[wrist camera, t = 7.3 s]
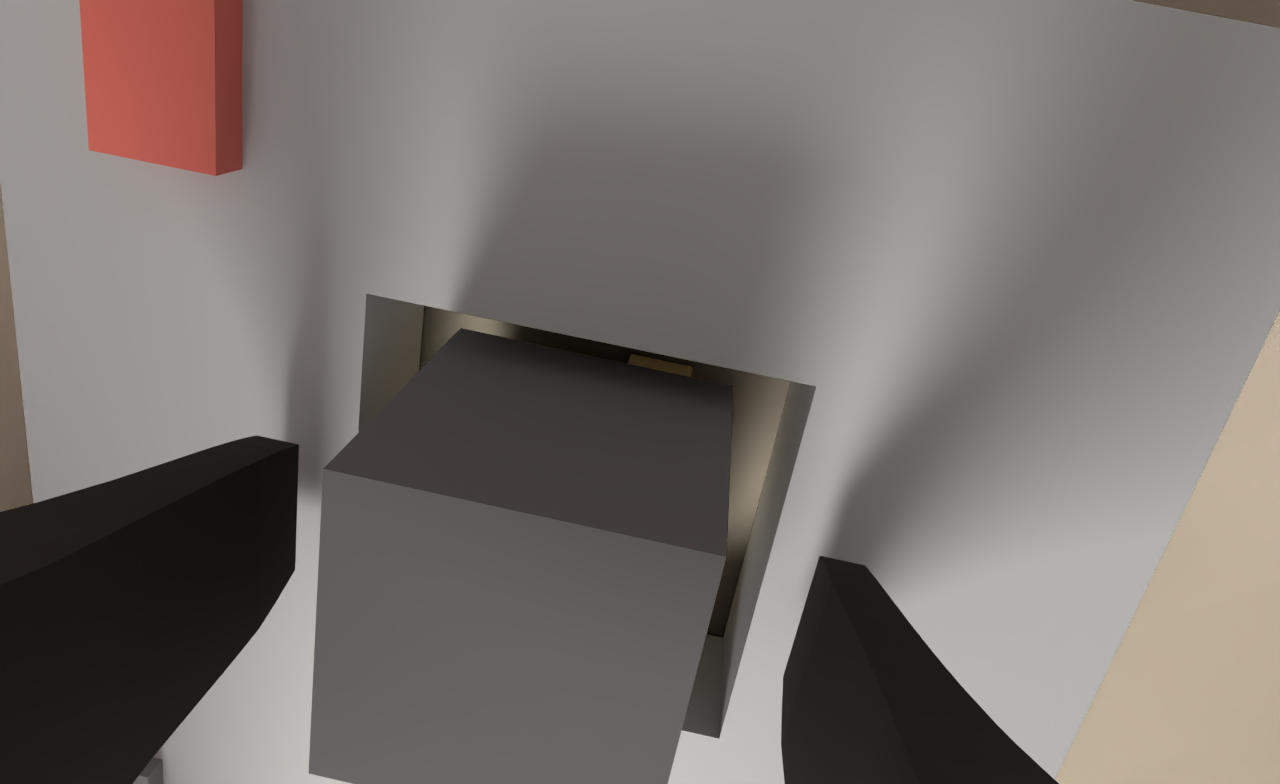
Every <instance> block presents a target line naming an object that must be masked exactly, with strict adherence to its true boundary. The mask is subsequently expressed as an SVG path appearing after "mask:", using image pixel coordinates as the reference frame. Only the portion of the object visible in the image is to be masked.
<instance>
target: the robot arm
mask: <svg viewBox="0 0 1280 784" xmlns="http://www.w3.org/2000/svg"><path fill="white" fill-rule="evenodd" d="M298 462H299V444H295V443H290V442H285V441H281V440H276V439H271V438H266V437H262V436H257V435H256V436H251V437H246V438H242V439H238V440H234V441H231V442H228V443H224V444H221V445H218V446H214V447H211V448H208V449H205V450H202V451H199V452H196V453H193V454H190V455H187V456H184V457H181V458H178V459H175V460H172V461H169V462H166V463H163V464H160V465H157V466H154V467H151V468H148V469H145V470H142V471H139V472H136V473H133V474H130V475H127V476H124V477H121V478H118V479H114V480H111V481H108V482H105V483H101V484H98V485H94V486H91V487H88V488H84V489H81V490H78V491H74V492H71V493H67V494H64V495H61V496H57V497H54V498H50V499H47V500H44V501H40V502H37V503H34V504H30V505H26V506H22V507H19V508H15V509H11V510H7V511H3V512H0V784H133V783H134V781H135V780H136V779H137V777H138V776H139V775H140V773H141V772H142V771H143V770H144V768H145V767H146V766H147V764H148V763H149V762H150V760H151V759H152V758H153V757H154V755H155V754H156V753H157V752H158V751H159V749H160V748H161V747H162V746H163V745H164V743H165V742H166V741H167V740H168V739H169V737H170V736H171V735H172V734H173V733H174V731H175V730H176V729H177V728H178V727H179V725H180V724H181V723H182V722H183V721H184V719H185V718H186V717H187V716H188V715H189V713H190V712H191V711H192V710H193V709H194V707H195V706H196V705H197V704H198V703H199V701H200V700H201V699H202V698H203V697H204V696H205V694H206V693H207V692H208V691H209V690H210V688H211V687H212V686H213V685H214V684H215V682H216V681H217V680H218V679H219V678H220V676H221V675H222V674H223V673H224V671H225V670H226V669H227V668H228V667H229V665H230V664H231V663H232V662H233V660H234V659H235V658H236V657H237V656H238V654H239V653H240V652H241V651H242V649H243V648H244V647H245V646H246V645H247V643H248V642H249V641H250V640H251V638H252V637H253V636H254V635H255V633H256V632H257V631H258V629H259V628H260V627H261V625H262V623H263V622H264V620H265V619H266V617H267V616H268V614H269V612H270V611H271V609H272V608H273V606H274V605H275V603H276V601H277V600H278V598H279V596H280V595H281V593H282V591H283V590H284V588H285V586H286V584H287V583H288V581H289V579H290V578H291V576H292V574H293V573H294V571H295V561H296V528H297V495H298ZM781 749H782V761H783V771H784V782H785V784H1059V783H1058V782H1056V781H1055V780H1054V779H1053V778H1052V777H1051V776H1050V775H1049V774H1048V773H1047V772H1046V771H1045V770H1044V769H1043V768H1041V767H1040V766H1039V765H1038V764H1037V763H1036V762H1035V761H1034V760H1033V759H1032V758H1031V757H1030V756H1029V755H1028V754H1027V753H1025V752H1024V751H1023V750H1022V749H1021V748H1020V747H1019V746H1018V745H1017V744H1016V743H1015V742H1014V741H1013V740H1012V739H1011V738H1010V737H1009V736H1008V735H1007V734H1006V733H1005V732H1004V731H1003V730H1002V729H1001V728H1000V727H999V726H998V725H997V724H996V723H995V722H994V721H993V720H992V719H991V718H990V717H989V715H988V714H987V713H986V712H985V711H984V710H983V709H982V708H981V707H980V706H979V705H978V703H977V702H976V701H975V700H974V699H973V698H972V697H971V696H970V695H969V694H968V693H967V691H966V690H965V689H964V688H963V687H962V686H961V685H960V684H959V682H958V681H957V680H956V679H955V678H954V677H953V675H952V674H951V673H950V672H949V671H948V670H947V668H946V667H945V666H944V665H943V664H942V662H941V661H940V660H939V659H938V658H937V656H936V655H935V654H934V653H933V652H932V650H931V649H930V648H929V647H928V645H927V644H926V643H925V642H924V640H923V639H922V638H921V637H920V635H919V634H918V633H917V631H916V630H915V629H914V628H913V626H912V625H911V624H910V623H909V621H908V620H907V619H906V617H905V616H904V615H903V613H902V612H901V611H900V609H899V608H898V607H897V606H896V604H895V603H894V602H893V600H892V599H891V598H890V596H889V595H888V594H887V592H886V591H885V590H884V588H883V587H882V586H881V585H880V583H879V582H878V581H877V579H876V578H875V577H874V576H873V574H872V573H871V572H870V571H869V569H868V568H867V567H866V566H865V565H861V564H857V563H852V562H847V561H843V560H838V559H833V558H829V557H824V556H819V559H818V563H817V566H816V569H815V572H814V576H813V579H812V582H811V586H810V589H809V592H808V596H807V599H806V602H805V606H804V609H803V612H802V616H801V619H800V622H799V626H798V629H797V632H796V635H795V639H794V642H793V645H792V649H791V652H790V655H789V659H788V662H787V665H786V669H785V672H784V675H783V693H782V723H781Z"/></svg>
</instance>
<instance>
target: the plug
mask: <svg viewBox="0 0 1280 784" xmlns="http://www.w3.org/2000/svg"><path fill="white" fill-rule="evenodd" d="M691 373H692V367H690V366H686V365H681V364H676V363H671V362H667V361H662V360H657V359H653V358H648V357H643V356H638V355H634V354H631V356H630V359H629V362H628V364H627V363H622V362H617V361H613V360H608V359H603V358H598V357H594V356H589V355H584V354H579V353H575V352H570V351H565V350H561V349H556V348H551V347H546V346H542V345H537V344H532V343H527V342H523V341H518V340H513V339H509V338H504V337H499V336H494V335H490V334H485V333H480V332H476V331H471V330H466V329H460V330H459V331H458V332H457V333H456V334H455V335H454V336H453V337H452V338H451V339H450V340H449V341H448V342H447V343H446V344H445V345H444V346H443V347H442V348H441V349H440V350H439V351H438V352H437V353H436V354H435V355H434V356H433V357H432V358H431V359H430V360H429V361H428V362H427V363H426V364H425V365H424V366H423V367H422V368H421V369H420V370H419V371H418V373H417V374H416V375H415V376H414V377H413V378H412V379H411V380H410V381H409V382H408V383H407V384H406V385H405V386H404V387H403V388H402V389H401V390H400V391H399V392H398V393H397V394H396V395H395V396H394V397H393V398H392V399H391V400H390V401H389V402H388V403H387V404H386V405H385V406H384V407H383V408H382V409H381V410H380V411H379V412H378V413H377V414H376V415H375V416H374V417H373V418H372V419H371V420H370V421H369V422H368V423H367V424H366V426H365V427H364V428H363V429H362V430H361V431H360V432H359V433H358V434H357V435H356V436H355V437H354V438H353V439H352V440H351V441H350V442H349V443H348V444H347V445H346V446H345V447H344V448H343V449H342V450H341V451H340V452H339V453H338V454H337V455H336V456H335V457H334V458H333V459H332V460H331V461H330V462H329V463H328V464H327V465H326V466H325V467H324V468H323V480H322V501H321V522H320V543H319V563H318V584H317V605H316V626H315V647H314V668H313V689H312V710H311V731H310V752H309V774H313V775H317V776H322V777H326V778H330V779H335V780H339V781H343V782H348V783H352V784H668V781H669V777H670V773H671V769H672V765H673V762H674V758H675V754H676V750H677V746H678V742H679V738H680V735H681V731H682V727H683V723H684V719H685V715H686V711H687V708H688V704H689V700H690V696H691V692H692V688H693V684H694V681H695V677H696V673H697V669H698V665H699V661H700V657H701V654H702V650H703V646H704V642H705V638H706V634H707V630H708V627H709V623H710V619H711V615H712V611H713V607H714V603H715V600H716V596H717V592H718V588H719V584H720V580H721V576H722V573H723V569H724V565H725V561H726V557H727V533H728V508H729V483H730V458H731V433H732V408H733V386H731V385H726V384H721V383H716V382H712V381H707V380H702V379H698V378H693V377H691Z"/></svg>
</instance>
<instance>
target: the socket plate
mask: <svg viewBox="0 0 1280 784" xmlns="http://www.w3.org/2000/svg"><path fill="white" fill-rule="evenodd" d="M0 184H1V194H2V203H3V213H4V223H5V233H6V242H7V252H8V262H9V272H10V281H11V291H12V301H13V311H14V320H15V330H16V340H17V350H18V359H19V369H20V379H21V389H22V398H23V408H24V418H25V427H26V437H27V447H28V457H29V466H30V476H31V486H32V496H33V504H34V503H37V502H40V501H44V500H47V499H50V498H54V497H57V496H61V495H64V494H67V493H71V492H74V491H78V490H81V489H84V488H88V487H91V486H94V485H98V484H101V483H105V482H108V481H111V480H114V479H118V478H121V477H124V476H127V475H130V474H133V473H136V472H139V471H142V470H145V469H148V468H151V467H154V466H157V465H160V464H163V463H166V462H169V461H172V460H175V459H178V458H181V457H184V456H187V455H190V454H193V453H196V452H199V451H202V450H205V449H208V448H211V447H214V446H218V445H221V444H224V443H228V442H231V441H234V440H238V439H242V438H246V437H251V436H256V435H257V436H262V437H266V438H271V439H276V440H281V441H285V442H290V443H295V444H299V462H298V495H297V528H296V561H295V571H294V573H293V574H292V576H291V578H290V579H289V581H288V583H287V584H286V586H285V588H284V590H283V591H282V593H281V595H280V596H279V598H278V600H277V601H276V603H275V605H274V606H273V608H272V609H271V611H270V612H269V614H268V616H267V617H266V619H265V620H264V622H263V623H262V625H261V627H260V628H259V629H258V631H257V632H256V633H255V635H254V636H253V637H252V638H251V640H250V641H249V642H248V643H247V645H246V646H245V647H244V648H243V649H242V651H241V652H240V653H239V654H238V656H237V657H236V658H235V659H234V660H233V662H232V663H231V664H230V665H229V667H228V668H227V669H226V670H225V671H224V673H223V674H222V675H221V676H220V678H219V679H218V680H217V681H216V682H215V684H214V685H213V686H212V687H211V688H210V690H209V691H208V692H207V693H206V694H205V696H204V697H203V698H202V699H201V700H200V701H199V703H198V704H197V705H196V706H195V707H194V709H193V710H192V711H191V712H190V713H189V715H188V716H187V717H186V718H185V719H184V721H183V722H182V723H181V724H180V725H179V727H178V728H177V729H176V730H175V731H174V733H173V734H172V735H171V736H170V737H169V739H168V740H167V741H166V742H165V743H164V745H163V746H162V747H161V748H160V749H159V751H158V752H157V753H156V754H155V755H154V757H153V758H152V759H151V760H150V762H149V763H148V764H147V766H146V767H145V768H144V770H143V771H142V772H141V773H140V775H139V776H138V777H137V779H136V780H135V781H134V783H133V784H352V783H348V782H343V781H339V780H335V779H330V778H326V777H322V776H317V775H313V774H309V752H310V731H311V710H312V689H313V668H314V647H315V626H316V605H317V584H318V563H319V543H320V522H321V501H322V480H323V468H324V467H325V466H326V465H327V464H328V463H329V462H330V461H331V460H332V459H333V458H334V457H335V456H336V455H337V454H338V453H339V452H340V451H341V450H342V449H343V448H344V447H345V446H346V445H347V444H348V443H349V442H350V441H351V440H352V439H353V438H354V437H355V436H356V435H357V434H358V433H359V432H360V431H361V430H362V429H363V428H364V427H365V426H366V424H367V423H368V422H369V421H370V420H371V419H372V418H373V417H374V416H375V415H376V414H377V413H378V412H379V411H380V410H381V409H382V408H383V407H384V406H385V405H386V404H387V403H388V402H389V401H390V400H391V399H392V398H393V397H394V396H395V395H396V394H397V393H398V392H399V391H400V390H401V389H402V388H403V387H404V386H405V385H406V384H407V383H408V382H409V381H410V380H411V379H412V378H413V377H414V376H415V375H416V374H417V373H418V371H419V364H420V353H421V341H422V329H423V318H424V306H429V307H434V308H439V309H444V310H448V311H453V312H458V313H463V314H468V315H473V316H477V317H482V318H487V319H492V320H497V321H502V322H506V323H511V324H516V325H521V326H526V327H531V328H536V329H540V330H545V331H550V332H555V333H560V334H565V335H569V336H574V337H579V338H584V339H589V340H594V341H598V342H603V343H608V344H613V345H618V346H623V347H628V348H632V349H637V350H642V351H647V352H652V353H657V354H661V355H666V356H671V357H676V358H681V359H686V360H690V361H695V362H700V363H705V364H710V365H715V366H720V367H724V368H729V369H734V370H739V371H744V372H749V373H753V374H758V375H763V376H768V377H773V378H778V379H783V380H787V381H791V382H790V386H789V390H788V394H787V398H786V401H785V405H784V409H783V413H782V417H781V420H780V424H779V428H778V432H777V436H776V439H775V443H774V447H773V451H772V455H771V458H770V462H769V466H768V470H767V474H766V477H765V481H764V485H763V489H762V493H761V496H760V500H759V504H758V508H757V512H756V515H755V519H754V523H753V527H752V531H751V534H750V538H749V542H748V546H747V550H746V553H745V557H744V561H743V565H742V569H741V572H740V576H739V580H738V584H737V588H736V591H735V595H734V599H733V603H732V607H731V610H730V614H729V618H728V622H727V626H726V629H725V633H724V637H723V638H722V637H718V636H713V635H708V634H706V638H705V642H704V646H703V650H702V654H701V657H700V661H699V665H698V669H697V673H696V677H695V681H694V684H693V688H692V692H691V696H690V700H689V704H688V708H687V711H686V715H685V719H684V723H683V727H682V731H681V735H680V738H679V742H678V746H677V750H676V754H675V758H674V762H673V765H672V769H671V773H670V777H669V781H668V784H785V782H784V771H783V761H782V749H781V723H782V693H783V675H784V672H785V669H786V665H787V662H788V659H789V655H790V652H791V649H792V645H793V642H794V639H795V635H796V632H797V629H798V626H799V622H800V619H801V616H802V612H803V609H804V606H805V602H806V599H807V596H808V592H809V589H810V586H811V582H812V579H813V576H814V572H815V569H816V566H817V563H818V559H819V556H824V557H829V558H833V559H838V560H843V561H847V562H852V563H857V564H861V565H865V566H866V567H867V568H868V569H869V571H870V572H871V573H872V574H873V576H874V577H875V578H876V579H877V581H878V582H879V583H880V585H881V586H882V587H883V588H884V590H885V591H886V592H887V594H888V595H889V596H890V598H891V599H892V600H893V602H894V603H895V604H896V606H897V607H898V608H899V609H900V611H901V612H902V613H903V615H904V616H905V617H906V619H907V620H908V621H909V623H910V624H911V625H912V626H913V628H914V629H915V630H916V631H917V633H918V634H919V635H920V637H921V638H922V639H923V640H924V642H925V643H926V644H927V645H928V647H929V648H930V649H931V650H932V652H933V653H934V654H935V655H936V656H937V658H938V659H939V660H940V661H941V662H942V664H943V665H944V666H945V667H946V668H947V670H948V671H949V672H950V673H951V674H952V675H953V677H954V678H955V679H956V680H957V681H958V682H959V684H960V685H961V686H962V687H963V688H964V689H965V690H966V691H967V693H968V694H969V695H970V696H971V697H972V698H973V699H974V700H975V701H976V702H977V703H978V705H979V706H980V707H981V708H982V709H983V710H984V711H985V712H986V713H987V714H988V715H989V717H990V718H991V719H992V720H993V721H994V722H995V723H996V724H997V725H998V726H999V727H1000V728H1001V729H1002V730H1003V731H1004V732H1005V733H1006V734H1007V735H1008V736H1009V737H1010V738H1011V739H1012V740H1013V741H1014V742H1015V743H1016V744H1017V745H1018V746H1019V747H1020V748H1021V749H1022V750H1023V751H1024V752H1025V753H1027V754H1028V755H1029V756H1030V757H1031V758H1032V759H1033V760H1034V761H1035V762H1036V763H1037V764H1038V765H1039V766H1040V767H1041V768H1043V769H1044V770H1045V771H1046V772H1047V773H1048V774H1049V775H1050V776H1051V777H1052V778H1053V779H1054V780H1055V779H1056V776H1057V774H1058V772H1059V770H1060V768H1061V766H1062V764H1063V762H1064V760H1065V758H1066V756H1067V754H1068V751H1069V749H1070V747H1071V745H1072V743H1073V741H1074V739H1075V737H1076V735H1077V733H1078V731H1079V728H1080V726H1081V724H1082V722H1083V720H1084V718H1085V716H1086V714H1087V712H1088V710H1089V708H1090V706H1091V703H1092V701H1093V699H1094V697H1095V695H1096V693H1097V691H1098V689H1099V687H1100V685H1101V683H1102V680H1103V678H1104V676H1105V674H1106V672H1107V670H1108V668H1109V666H1110V664H1111V662H1112V660H1113V657H1114V655H1115V653H1116V651H1117V649H1118V647H1119V645H1120V643H1121V641H1122V639H1123V637H1124V635H1125V632H1126V630H1127V628H1128V626H1129V624H1130V622H1131V620H1132V618H1133V616H1134V614H1135V612H1136V609H1137V607H1138V605H1139V603H1140V601H1141V599H1142V597H1143V595H1144V593H1145V591H1146V589H1147V587H1148V584H1149V582H1150V580H1151V578H1152V576H1153V574H1154V572H1155V570H1156V568H1157V566H1158V564H1159V561H1160V559H1161V557H1162V555H1163V553H1164V551H1165V549H1166V547H1167V545H1168V543H1169V541H1170V539H1171V536H1172V534H1173V532H1174V530H1175V528H1176V526H1177V524H1178V522H1179V520H1180V518H1181V516H1182V513H1183V511H1184V509H1185V507H1186V505H1187V503H1188V501H1189V499H1190V497H1191V495H1192V493H1193V491H1194V488H1195V486H1196V484H1197V482H1198V480H1199V478H1200V476H1201V474H1202V472H1203V470H1204V468H1205V465H1206V463H1207V461H1208V459H1209V457H1210V455H1211V453H1212V451H1213V449H1214V447H1215V445H1216V443H1217V440H1218V438H1219V436H1220V434H1221V432H1222V430H1223V428H1224V426H1225V424H1226V422H1227V420H1228V417H1229V415H1230V413H1231V411H1232V409H1233V407H1234V405H1235V403H1236V401H1237V399H1238V397H1239V395H1240V392H1241V390H1242V388H1243V386H1244V384H1245V382H1246V380H1247V378H1248V376H1249V374H1250V372H1251V369H1252V367H1253V365H1254V363H1255V361H1256V359H1257V357H1258V355H1259V353H1260V351H1261V349H1262V347H1263V344H1264V342H1265V340H1266V338H1267V336H1268V334H1269V332H1270V330H1271V328H1272V326H1273V324H1274V321H1275V319H1276V317H1277V315H1278V313H1279V311H1280V28H1277V27H1272V26H1267V25H1261V24H1256V23H1251V22H1245V21H1240V20H1235V19H1229V18H1224V17H1219V16H1213V15H1208V14H1203V13H1197V12H1192V11H1187V10H1182V9H1176V8H1171V7H1166V6H1160V5H1155V4H1150V3H1144V2H1139V1H1134V0H0Z"/></svg>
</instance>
